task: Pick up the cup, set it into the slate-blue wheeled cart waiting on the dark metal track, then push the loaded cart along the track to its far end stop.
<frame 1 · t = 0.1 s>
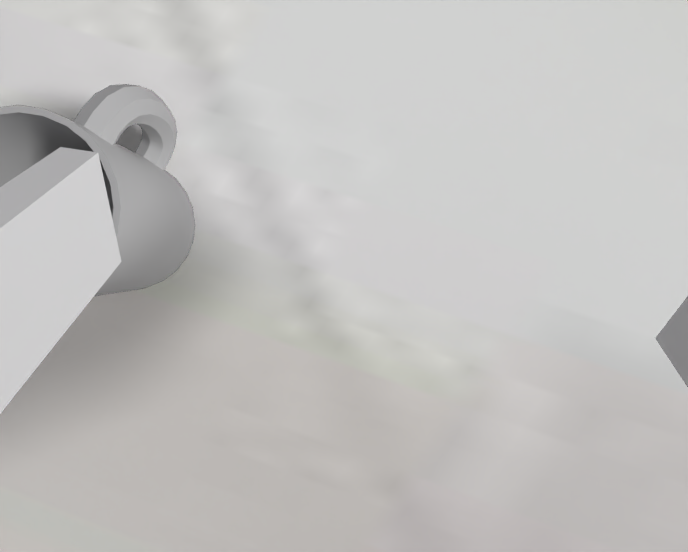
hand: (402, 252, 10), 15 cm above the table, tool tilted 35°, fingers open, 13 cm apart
cup: (147, 203, 25), on the table
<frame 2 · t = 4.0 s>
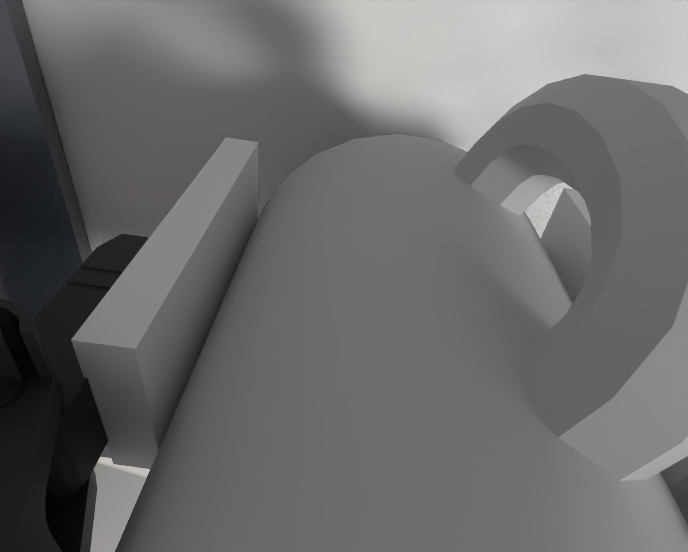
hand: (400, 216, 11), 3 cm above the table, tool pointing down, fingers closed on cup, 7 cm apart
cup: (417, 215, 12), point 2 cm above the table, touching gripper
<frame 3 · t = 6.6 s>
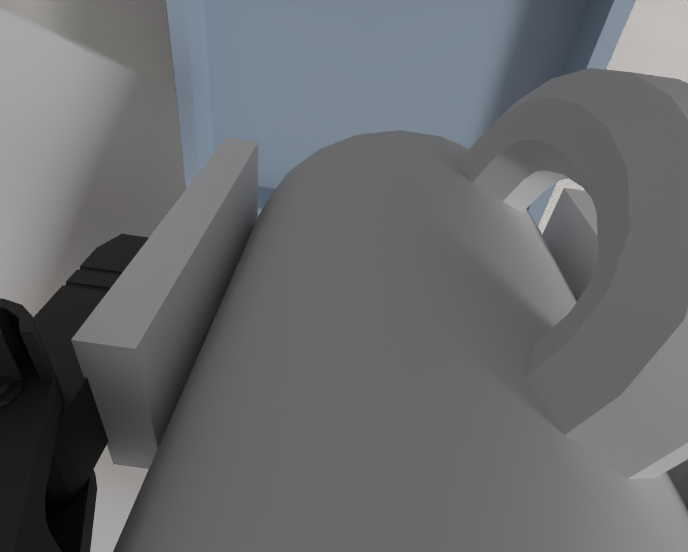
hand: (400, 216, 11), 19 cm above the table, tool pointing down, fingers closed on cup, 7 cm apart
cup: (419, 212, 12), point 19 cm above the table, touching gripper
cart: (378, 82, 23), point 5 cm above the table, slide at 0.0 cm
when the fingers open (7 cm above the table, at t = 9.4 s): cup drops 1 cm, resting on cart.
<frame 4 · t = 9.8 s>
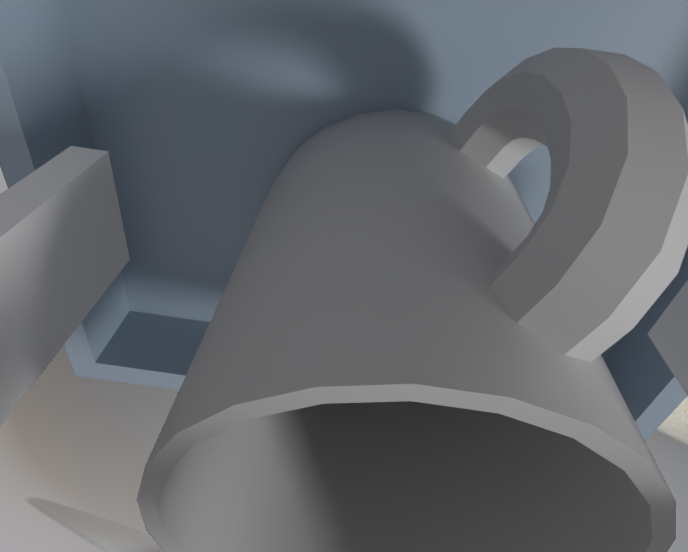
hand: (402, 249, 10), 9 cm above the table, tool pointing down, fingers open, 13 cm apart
cup: (415, 187, 13), point 5 cm above the table, touching cart
cart: (399, 175, 13), point 5 cm above the table, slide at 0.1 cm, touching cup
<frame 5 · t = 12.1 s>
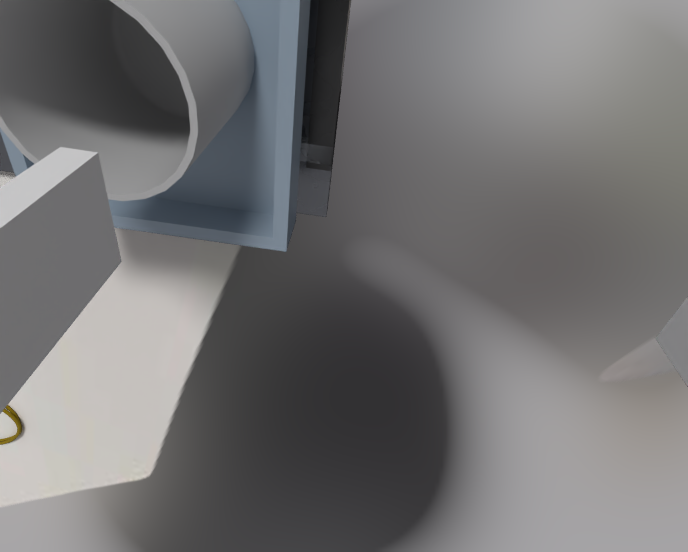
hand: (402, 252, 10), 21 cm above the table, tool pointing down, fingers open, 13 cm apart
cup: (157, 31, 22), point 5 cm above the table, touching cart
cart: (157, 41, 22), point 5 cm above the table, slide at 0.0 cm, touching cup
track: (87, 9, 26), on the table
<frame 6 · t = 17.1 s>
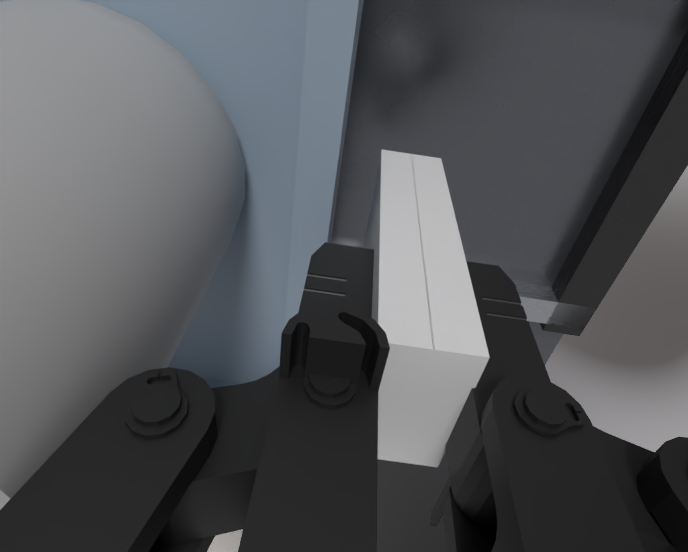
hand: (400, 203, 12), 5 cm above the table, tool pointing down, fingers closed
cup: (63, 124, 12), point 5 cm above the table, touching cart, hand
cart: (67, 138, 12), point 5 cm above the table, slide at 9.3 cm, touching cup
track: (236, 102, 16), on the table
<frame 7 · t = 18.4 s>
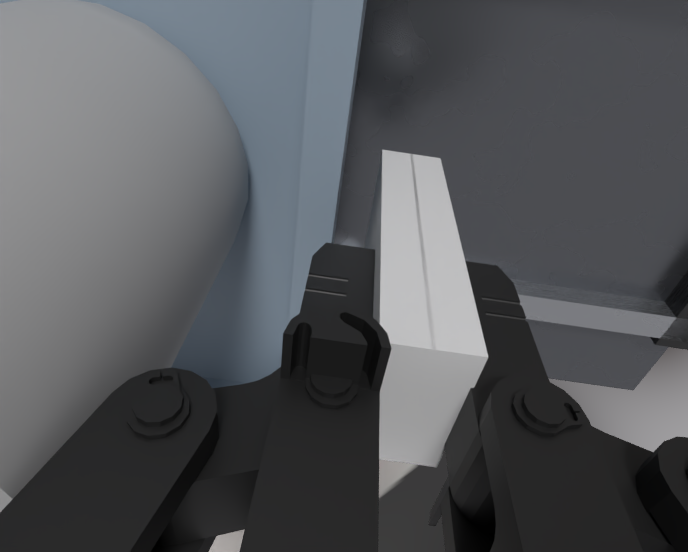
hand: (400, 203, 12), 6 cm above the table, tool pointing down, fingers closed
cup: (67, 124, 12), point 5 cm above the table, touching cart, hand
cart: (71, 138, 12), point 5 cm above the table, slide at 14.0 cm, touching cup
track: (373, 122, 16), on the table
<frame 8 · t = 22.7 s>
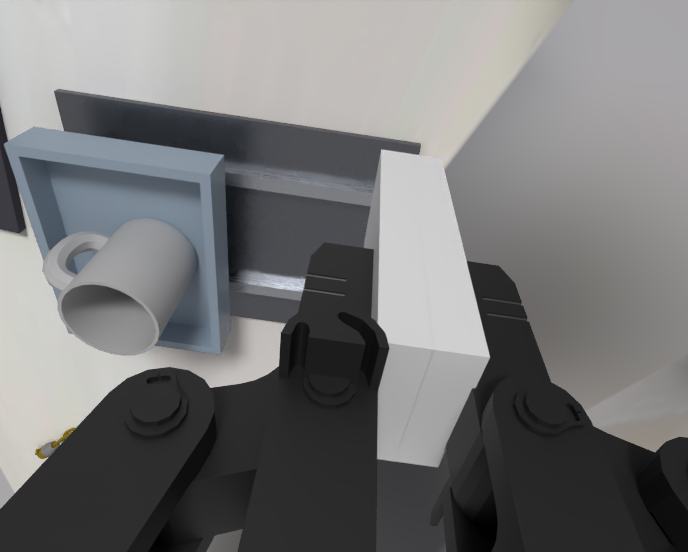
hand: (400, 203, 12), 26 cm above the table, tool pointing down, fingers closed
cup: (143, 243, 40), point 5 cm above the table, touching cart
extension cord: (89, 446, 72), on the table
cart: (143, 245, 40), point 5 cm above the table, slide at 13.5 cm, touching cup
track: (242, 229, 44), on the table
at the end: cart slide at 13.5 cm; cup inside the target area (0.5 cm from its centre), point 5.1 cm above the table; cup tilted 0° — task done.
